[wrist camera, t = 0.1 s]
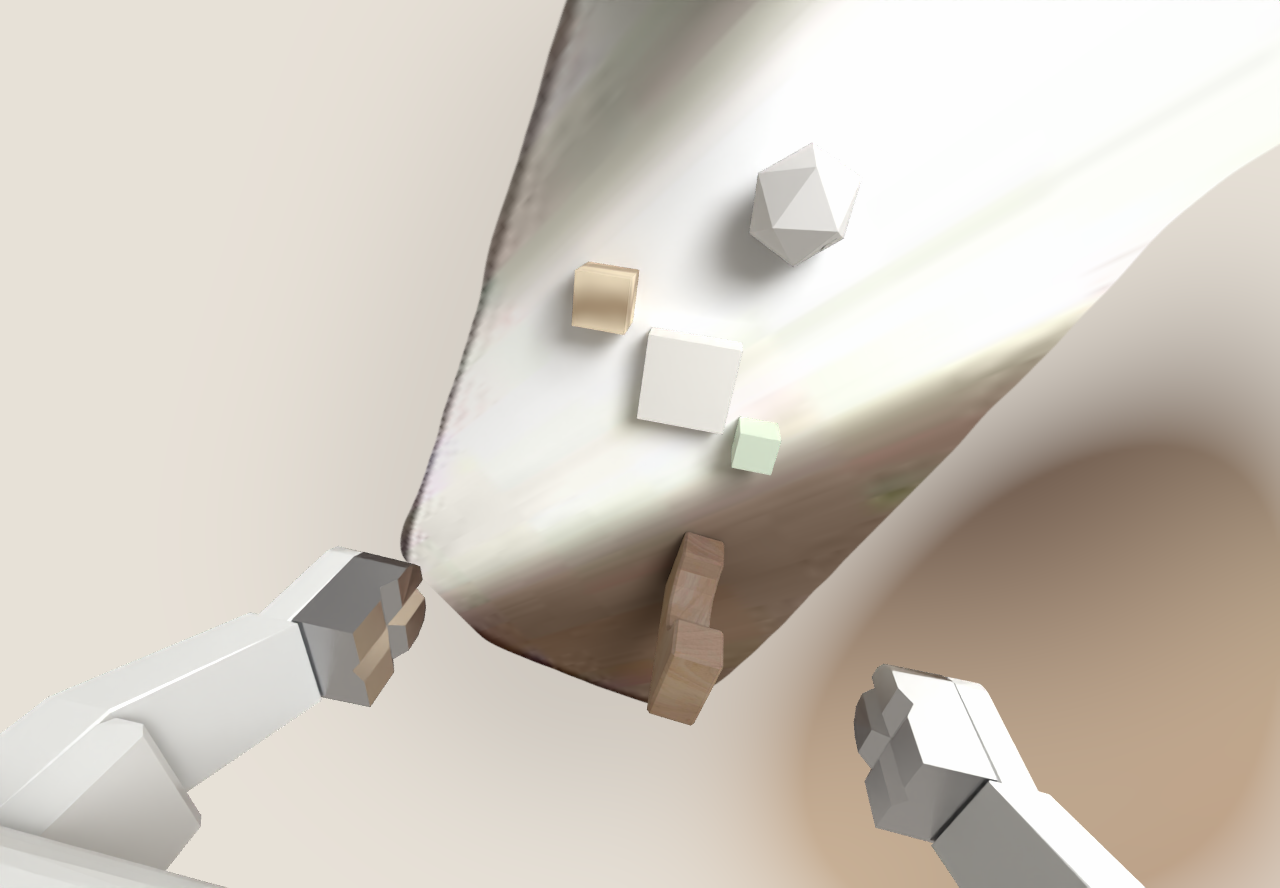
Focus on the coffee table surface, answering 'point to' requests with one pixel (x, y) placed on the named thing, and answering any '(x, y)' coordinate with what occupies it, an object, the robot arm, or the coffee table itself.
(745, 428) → the sage cube
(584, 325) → the beech cube
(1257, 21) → the coffee table surface
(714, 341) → the foundation slab
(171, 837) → the robot arm
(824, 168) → the die
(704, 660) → the decorative block
